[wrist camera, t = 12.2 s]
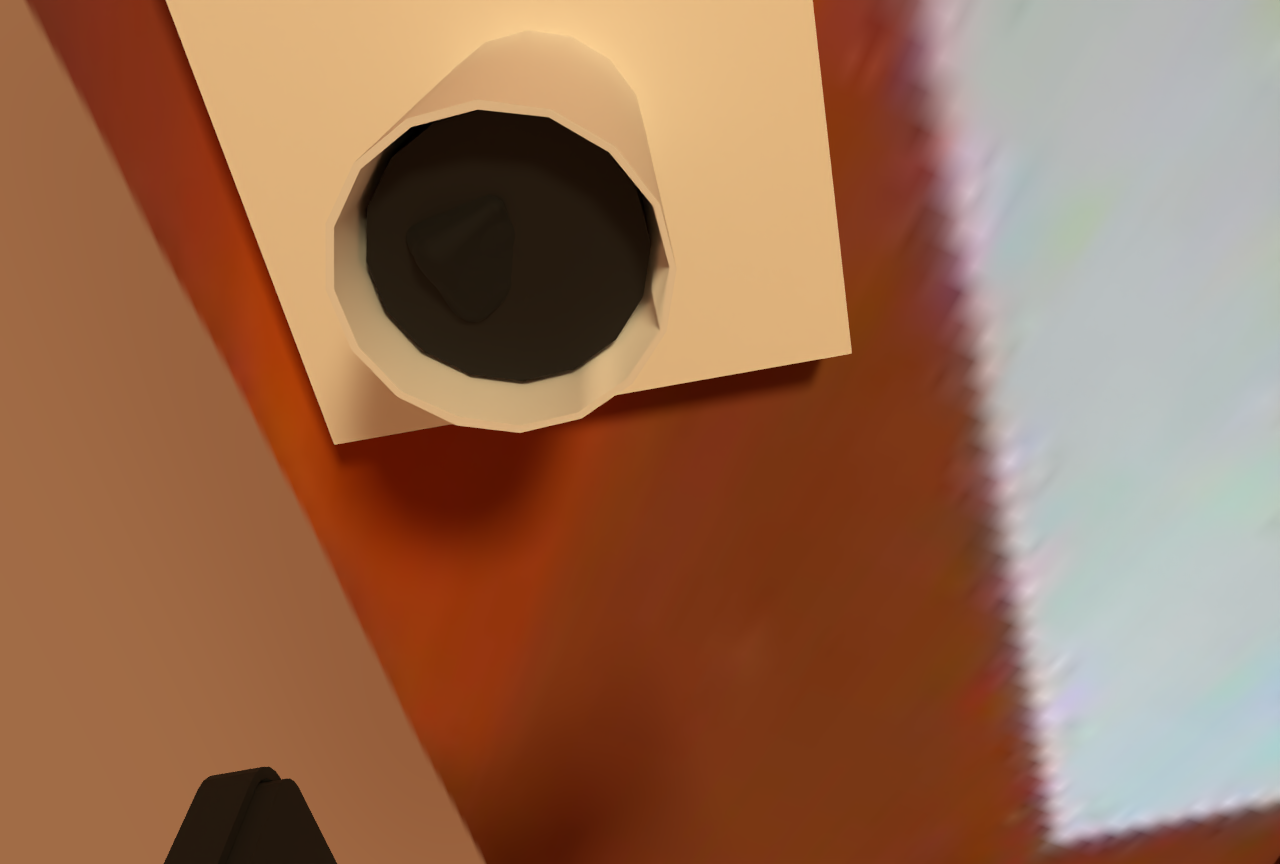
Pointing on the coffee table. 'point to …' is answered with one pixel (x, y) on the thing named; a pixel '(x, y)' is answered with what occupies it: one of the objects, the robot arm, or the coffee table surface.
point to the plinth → (676, 132)
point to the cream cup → (506, 241)
